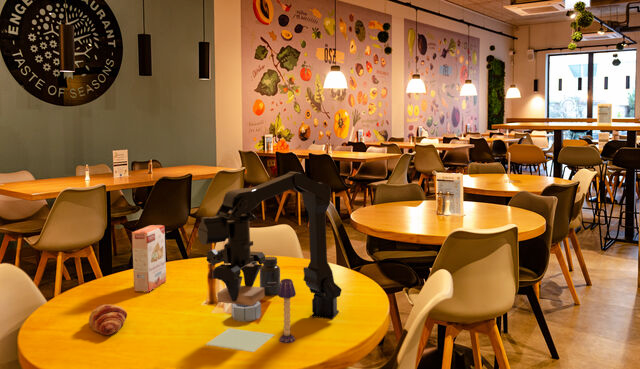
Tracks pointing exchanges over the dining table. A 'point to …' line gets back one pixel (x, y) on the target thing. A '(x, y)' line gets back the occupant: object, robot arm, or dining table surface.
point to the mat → (240, 340)
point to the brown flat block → (242, 295)
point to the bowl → (246, 312)
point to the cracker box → (149, 257)
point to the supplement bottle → (270, 276)
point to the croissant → (107, 319)
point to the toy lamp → (286, 308)
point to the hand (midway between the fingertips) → (241, 296)
